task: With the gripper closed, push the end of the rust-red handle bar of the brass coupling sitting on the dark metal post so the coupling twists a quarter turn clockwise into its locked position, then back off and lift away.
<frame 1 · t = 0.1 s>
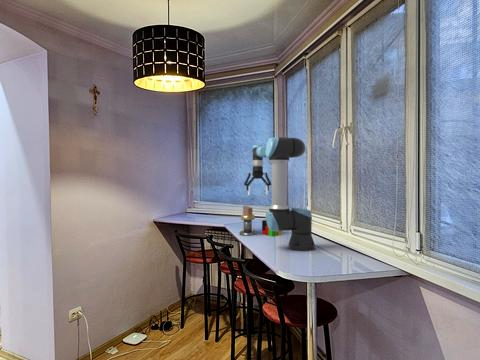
hand: (257, 194, 229), 28 cm above the table, fingers open, 13 cm apart
coupling: (247, 212, 225), point 15 cm above the table, hinge at 0.0°
post: (247, 234, 225), on the table
puzzle toy: (271, 234, 224), on the table
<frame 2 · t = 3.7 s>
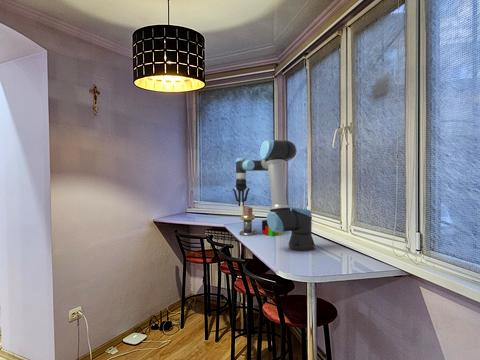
hand: (241, 210, 231), 16 cm above the table, fingers closed
coupling: (247, 212, 225), point 15 cm above the table, hinge at 0.0°, touching gripper
everything else where it was.
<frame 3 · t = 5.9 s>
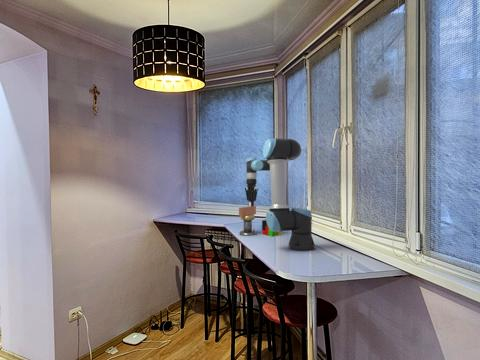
hand: (251, 210, 231), 16 cm above the table, fingers closed
coupling: (247, 212, 225), point 15 cm above the table, hinge at 48.1°, touching gripper
everything else where it was.
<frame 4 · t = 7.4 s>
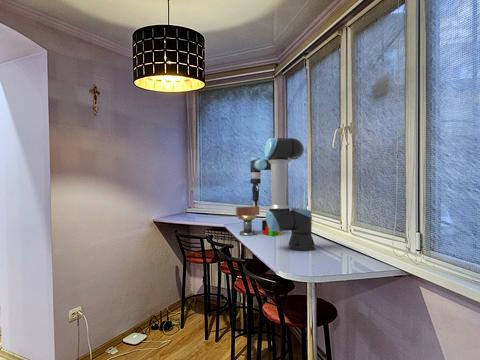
hand: (255, 210, 230), 17 cm above the table, fingers closed
coupling: (247, 212, 225), point 15 cm above the table, hinge at 81.7°
everything else where it was.
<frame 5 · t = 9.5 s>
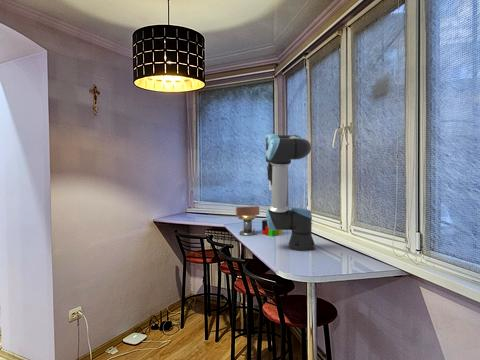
hand: (271, 189, 219), 32 cm above the table, fingers closed
nothing on the table moved.
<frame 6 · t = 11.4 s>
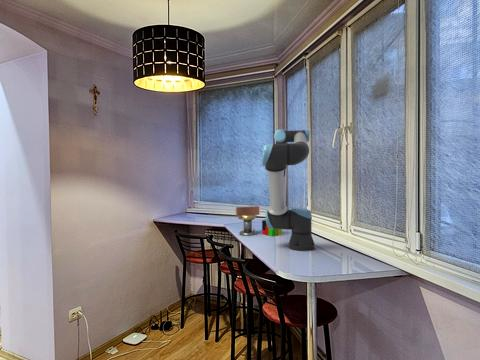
hand: (281, 187, 212), 34 cm above the table, fingers closed
nothing on the table moved.
at the end: coupling at +82° (first picture: +0°); the gripper is holding nothing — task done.
